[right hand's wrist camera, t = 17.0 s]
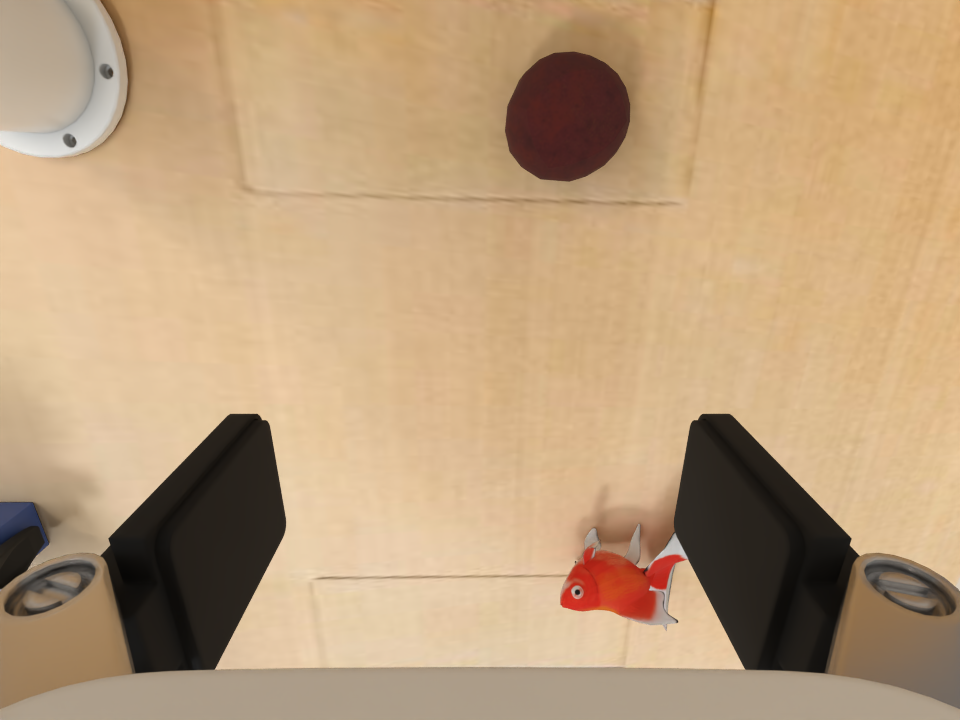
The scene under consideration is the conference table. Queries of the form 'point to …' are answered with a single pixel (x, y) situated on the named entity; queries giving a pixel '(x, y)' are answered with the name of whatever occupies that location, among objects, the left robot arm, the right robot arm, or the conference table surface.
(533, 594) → the conference table surface
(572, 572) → the fish
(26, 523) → the brick
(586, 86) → the potato
